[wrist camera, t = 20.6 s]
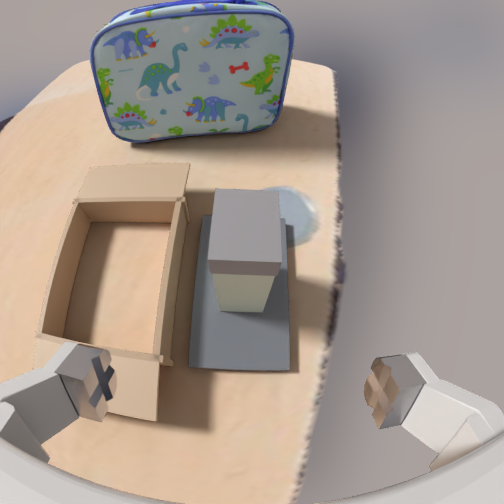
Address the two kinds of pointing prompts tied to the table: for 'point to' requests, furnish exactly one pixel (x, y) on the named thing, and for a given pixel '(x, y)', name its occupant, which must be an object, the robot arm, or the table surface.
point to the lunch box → (192, 68)
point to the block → (244, 247)
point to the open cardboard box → (161, 211)
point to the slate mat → (239, 321)
